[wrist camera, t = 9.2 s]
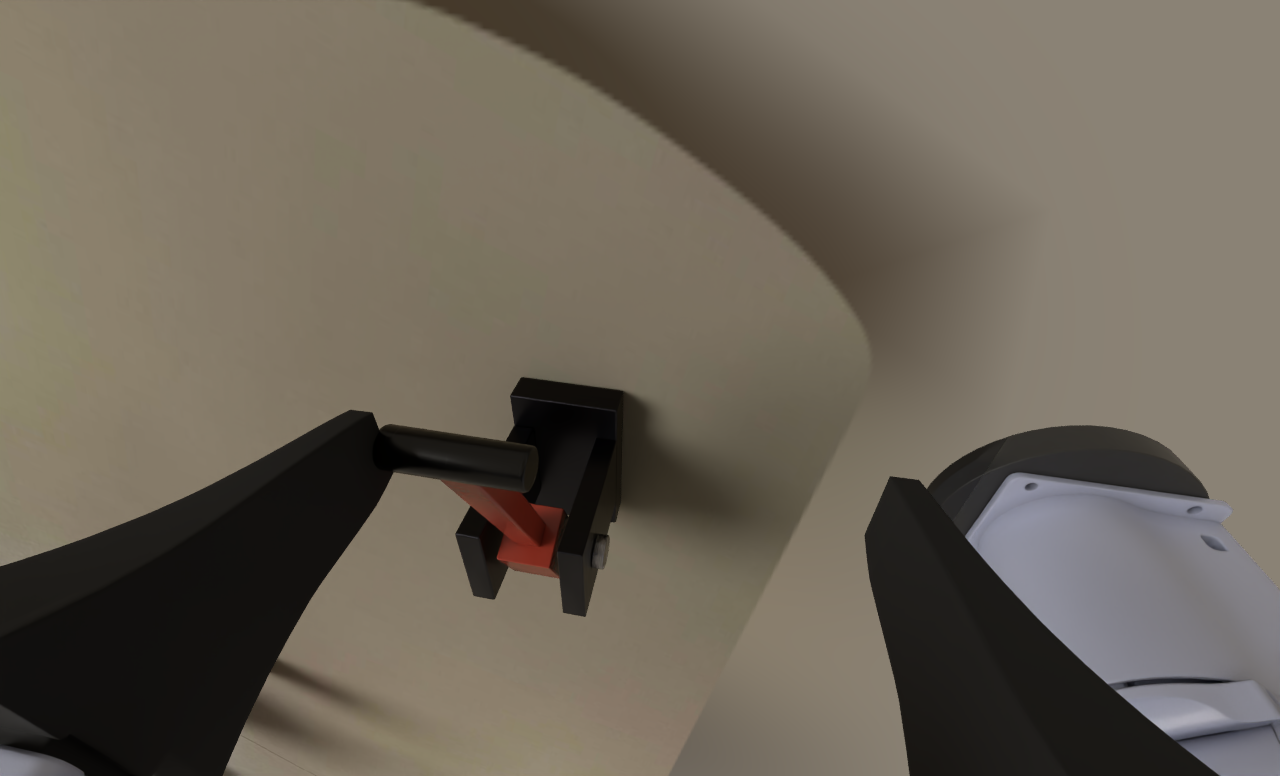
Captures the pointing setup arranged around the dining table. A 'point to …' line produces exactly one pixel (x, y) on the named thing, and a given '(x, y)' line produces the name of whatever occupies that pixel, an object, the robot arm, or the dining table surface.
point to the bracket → (559, 484)
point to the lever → (483, 487)
